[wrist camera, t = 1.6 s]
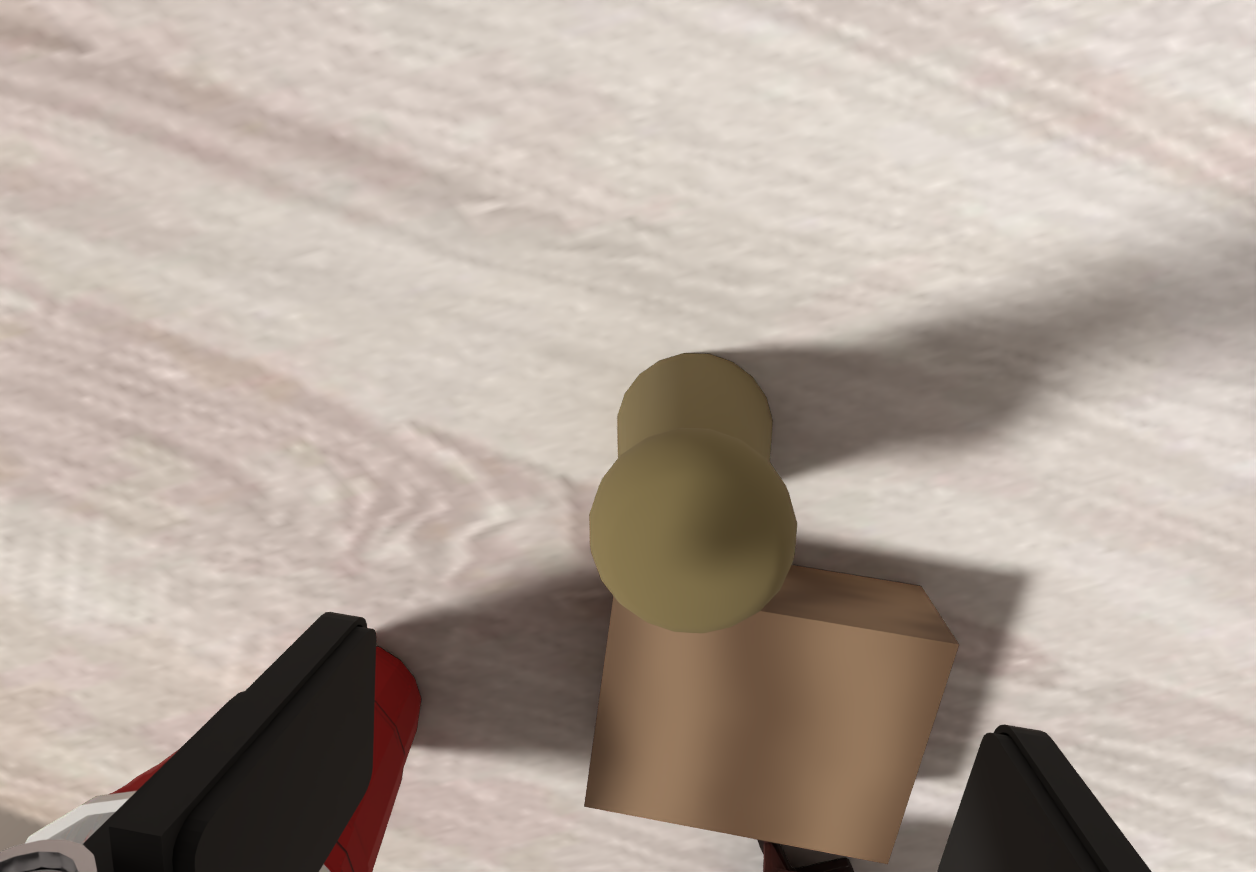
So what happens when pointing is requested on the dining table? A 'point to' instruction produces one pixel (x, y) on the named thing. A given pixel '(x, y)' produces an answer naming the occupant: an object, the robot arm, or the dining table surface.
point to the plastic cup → (367, 826)
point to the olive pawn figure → (693, 499)
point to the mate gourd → (779, 867)
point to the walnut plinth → (776, 715)
